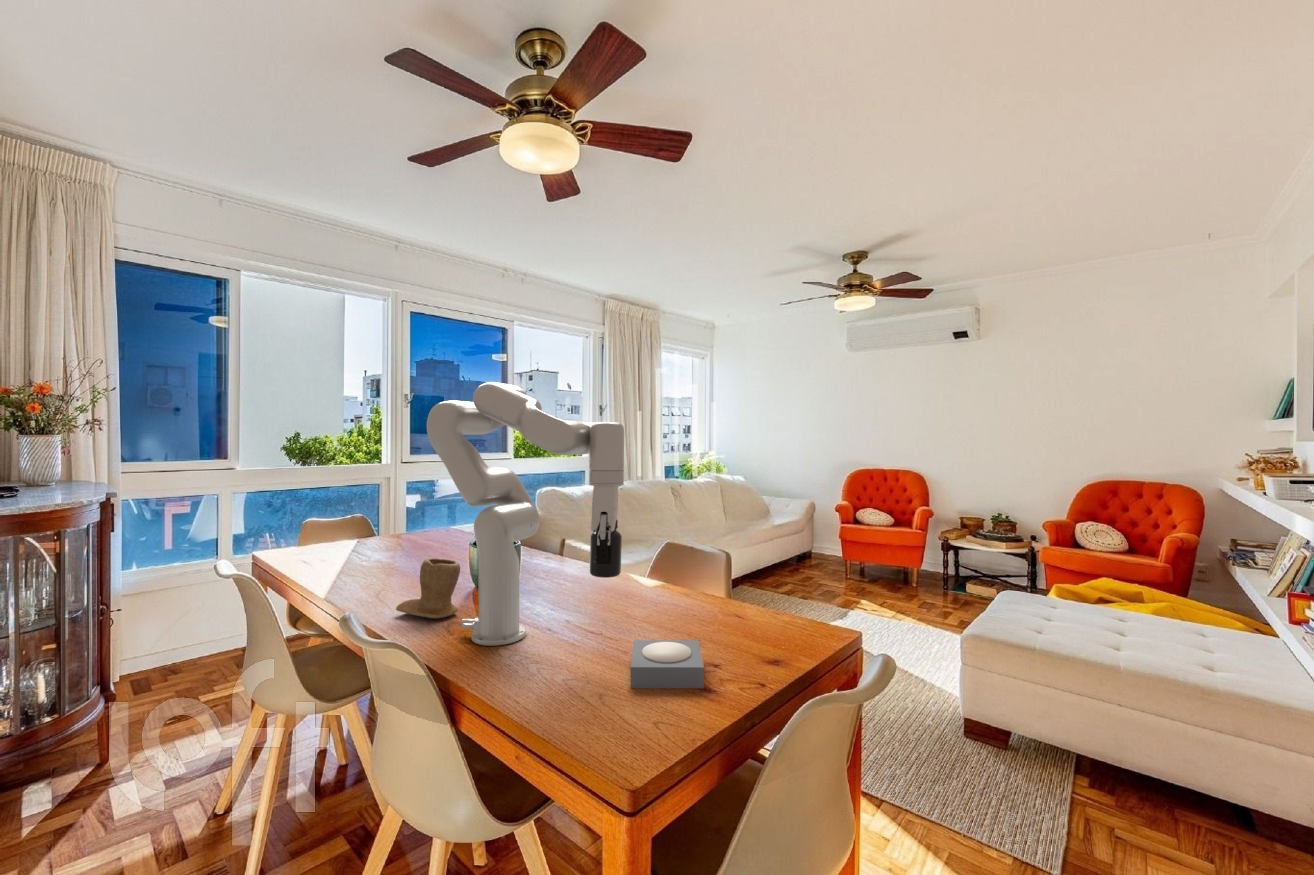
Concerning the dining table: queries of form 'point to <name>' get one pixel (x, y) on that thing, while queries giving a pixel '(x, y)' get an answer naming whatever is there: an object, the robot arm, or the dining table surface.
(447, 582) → the tan flared hollow piece
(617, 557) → the supplement bottle
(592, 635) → the dining table surface
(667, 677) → the plinth
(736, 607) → the dining table surface
